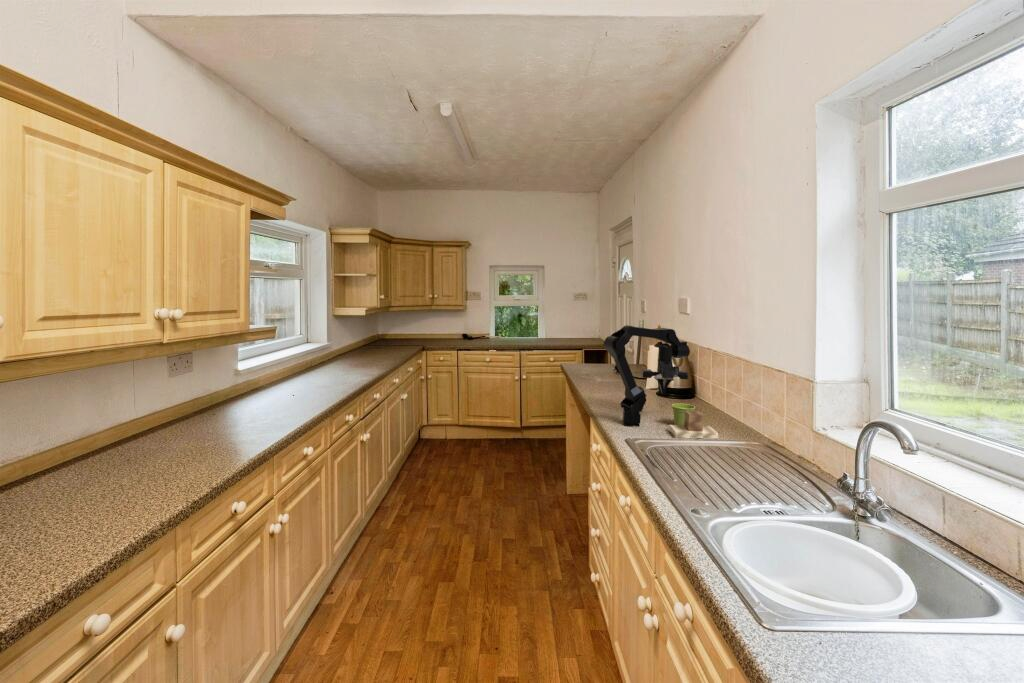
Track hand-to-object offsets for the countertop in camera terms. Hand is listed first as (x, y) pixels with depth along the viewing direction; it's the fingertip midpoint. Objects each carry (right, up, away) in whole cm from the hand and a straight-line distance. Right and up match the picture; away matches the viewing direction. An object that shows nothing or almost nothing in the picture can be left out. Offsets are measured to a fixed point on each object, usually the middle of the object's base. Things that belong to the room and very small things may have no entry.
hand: (662, 394), depth 214 cm
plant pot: (+6, -13, -5) cm, 15 cm away
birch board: (+7, -14, -17) cm, 23 cm away
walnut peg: (+6, -14, -17) cm, 23 cm away
